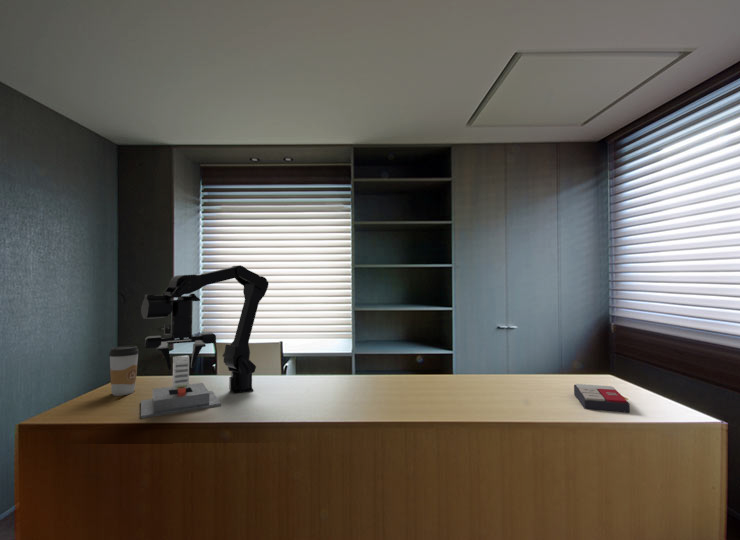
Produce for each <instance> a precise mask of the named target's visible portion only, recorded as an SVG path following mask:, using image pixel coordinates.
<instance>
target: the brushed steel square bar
mask: <svg viewBox="0 0 740 540" xmlns="http://www.w3.org/2000/svg"><path fill="white" fill-rule="evenodd" d="M189 384H190V356H189V355H178V356H177V355H175V356H172V387H173V390H177V389H178V388H189Z"/></svg>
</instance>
